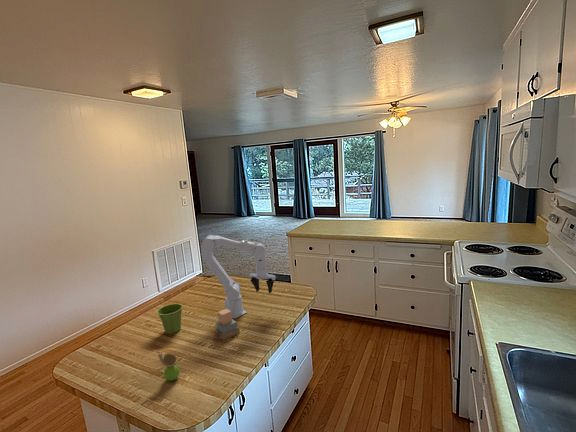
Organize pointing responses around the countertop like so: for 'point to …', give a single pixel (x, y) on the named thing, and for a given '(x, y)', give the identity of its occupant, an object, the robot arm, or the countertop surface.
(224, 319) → the terracotta block
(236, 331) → the base slab
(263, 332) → the countertop surface
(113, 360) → the countertop surface
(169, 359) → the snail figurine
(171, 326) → the plant pot
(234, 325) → the top slab
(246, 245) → the robot arm
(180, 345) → the countertop surface
